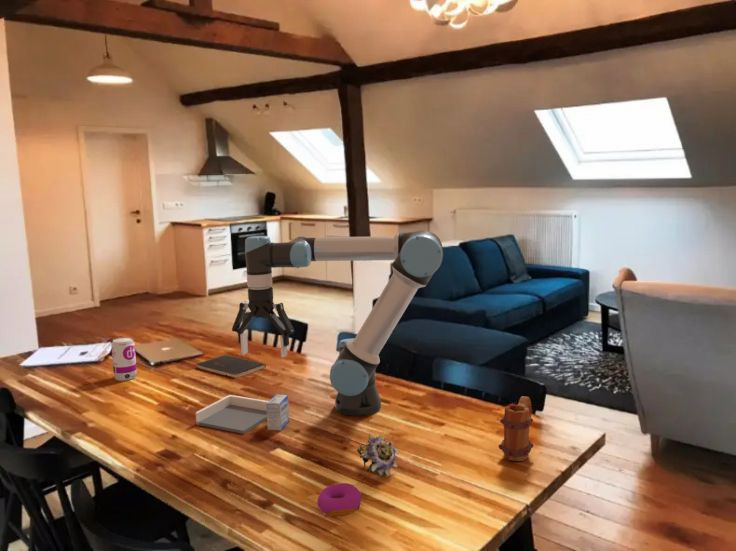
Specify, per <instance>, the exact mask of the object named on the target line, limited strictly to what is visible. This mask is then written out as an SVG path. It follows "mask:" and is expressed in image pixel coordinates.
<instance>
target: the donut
mask: <svg viewBox="0 0 736 551" xmlns="http://www.w3.org/2000/svg"><path fill="white" fill-rule="evenodd" d="M316 503H317V507H318V509H320V511H321V512H322V513H323V514H324V513H325V514H324V515H326V514H327V516H329V515H332V516H331V517H340V516H341V517H343V516H348V515H349V514H352V513H354V512H355V511H356V510H359V509H360V505H361V503H362V494H361V491H360V490H359V488H358V487H357V486H355V485H353V484H352V483H348V482H341V483H334V484H330V485H328V486H326V487H325V488H324V489H322V490H321V491H320V493H319V495H318V498H317V501H316Z"/></svg>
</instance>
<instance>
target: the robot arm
mask: <svg viewBox="0 0 736 551" xmlns="http://www.w3.org/2000/svg"><path fill="white" fill-rule="evenodd" d="M244 240H245V241H244V254H245V267H246V282H247V287H248V289H247V299H248V302H247V300H246V301H241V302H239V308H238V309H239V310H238V312H237V315H236V317H235V320H234V323H233V325H232V328H231V331H232V332H236V333H237V338H238V344H240V349H241V350H240V351H241V355H243V356H244V355H246V354H247V353H249V348H248V347H249V346H248V332H247V331H246V329H247V328H248V327H249V326H250V324H251V322H253V320H254V318H256V319H257V318H262V319H266V318H267V319H268V320H269V321H270V322H271V323H272V324H273V326H274V327H275V328H276V329H277V330H278V331H279V333H280V335H281V336H279V339H280V340H279V342H280V357H281V358H283V359H284V358H285V357H288V346H289V345H290V335H292V334H293V333H295V332H296V331H295V328H294V326H293V325H292V322H291V320H290V319H289V318H290V317H288V315H287V313H286V311H285V306H284V303H283V302H279V303H274V288H273V287H272V286H273V271H272V269H274V268H275V269H276V268H295V269H299V268H307V267H309V266H310V264H311V262H328V261H329V262H341V261H342V262H343V261H344V262H345V261H348V262H349V261H351V262H352V261H354V262H356V261H357V262H358V261H362V262H363V261H366V262H367V261H393V263H392V265H391V269H392V275H391V277H390V278H389V280H388V281H387V284H386V285H385V286H384V289H383V290H382V291H381V294H380V295H379V297H378V298H377V300H376V302H375V303H374V305H373V307H372V309H371V311H370V312H369V313H368V315H367V317H366V319H365V321H364V322H363V324H362V326H361V327H360V329H359V331H358V332H357V334H356V336H355V338H354V337H353V338H345V339H342V340H340V341H338V342H339V343H338V347H337V348H338V356H337V358H336V360H335V361H334V363H333V364H332V365H331V367H330V369H329V370H330V371H329V382H330V385H331V386H332V387H333V389H334V390H335V391H337V394H336V397H335V402H334V409H335V411H337V412H338V413H339V414H342V415H347V416H358V417H360V416H368V414H369V415H372V414H374V413H375V414H376V413H377V412H379V411H380V410H381V409H382V400H381V397H380V394H379V391H378V387H377V385H376V384H377V383H376V369H377V367H378V365H379V364H380V362H381V360H380V356H379V354H380V353H381V352H382V350H383V348H384V346H385V344H386V343H387V341H388V339H389V338H390V336H391V335H392V334H393V331H394V329H395V327H396V326H397V325H398V323H399V322H400V320H401V318H402V317H403V314H404V313H405V311H406V310H407V308H408V306H409V305H410V303H411V301H412V300H413V299H414V296H415V295H416V293H417V292H418V289H420V288H425V287H426V286H427V285H428V283H429V282H430V280H431V278H432V277H433V275H434V273H436V272H437V271H438V269H439V268H440V267H441V265H442V262H443V258H444V250H443V248H444V247H443V244H442V241H441V240H440V238H439V237H438V235H436V233H433V232H432V231H429V230H415V231H410V232H397V233H396V234H395V235H393V236H392V235H390V236H389V235H387V236H386V235H384V236H382V235H381V236H334V237H333V236H329V237H327V236H322V237H320V236H319V237H318V236H317V237H307V236H297V237H295V238H294V239H292V240H290V241H287V242H272V241H271V238H270V236H268V235H253V236H249V237H247V238H246V239H244ZM247 309H249V311H250V312H249V313H248V315H247V316H246V318H245V320H244V321H243V319H244V316H245V314H246V312H247ZM274 309H275V311H276V313H275V311H274ZM277 315H278V316H277ZM278 317H279V318H278ZM380 408H381V409H380Z"/></svg>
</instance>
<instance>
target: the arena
mask: <svg viewBox="0 0 736 551" xmlns="http://www.w3.org/2000/svg"><path fill="white" fill-rule="evenodd" d="M269 401H270V400H263V399H257V398H252V397H246V396H240V395H234V394H229V395H227V396H225V397H222V398H221V399H219V400H217V401H215V402H213V403H211V404H208V405H207V406H204V407H203V408H201V409H200V410H197V411H195V421H196V423H195V424H196V425H197V426H203V427H207V428H212V429H216V430H217V429H218V430H220V431H221V430H222V431H228V432H232V433H238V434H242V435H243V434H244V435H245V434H247V433H248V432H249V431H251V430H253V429H255V428H256V427H258V426H260V425H261V424H263V423H264V422H265V421H267V408H266V404H267V403H268V402H269Z"/></svg>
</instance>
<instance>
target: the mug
mask: <svg viewBox="0 0 736 551" xmlns="http://www.w3.org/2000/svg"><path fill="white" fill-rule="evenodd" d="M532 411H533V410H532V402H531V399H530V397H529V396H525V395H524V396H523V395H521V397H520V398H519V400H518V404H514V403H510V404H508V405H506V406H505V407H504V415H503V416H502V418H501V419H499V423H501V424H502V425H503V439H502V441H501V443H500V444H499V445H498V449H499V450H501V451H502V453H503V456H504V458H505V459H507V460H509V461H512V460H514V461H513V462H523V461H525V459H526V460H527V459H528V458H529V454H530V453H531V451H532V448H534V443H532V442H531V441H530V426H531V424H532V423H533V422H534V419H533V418H532Z"/></svg>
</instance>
